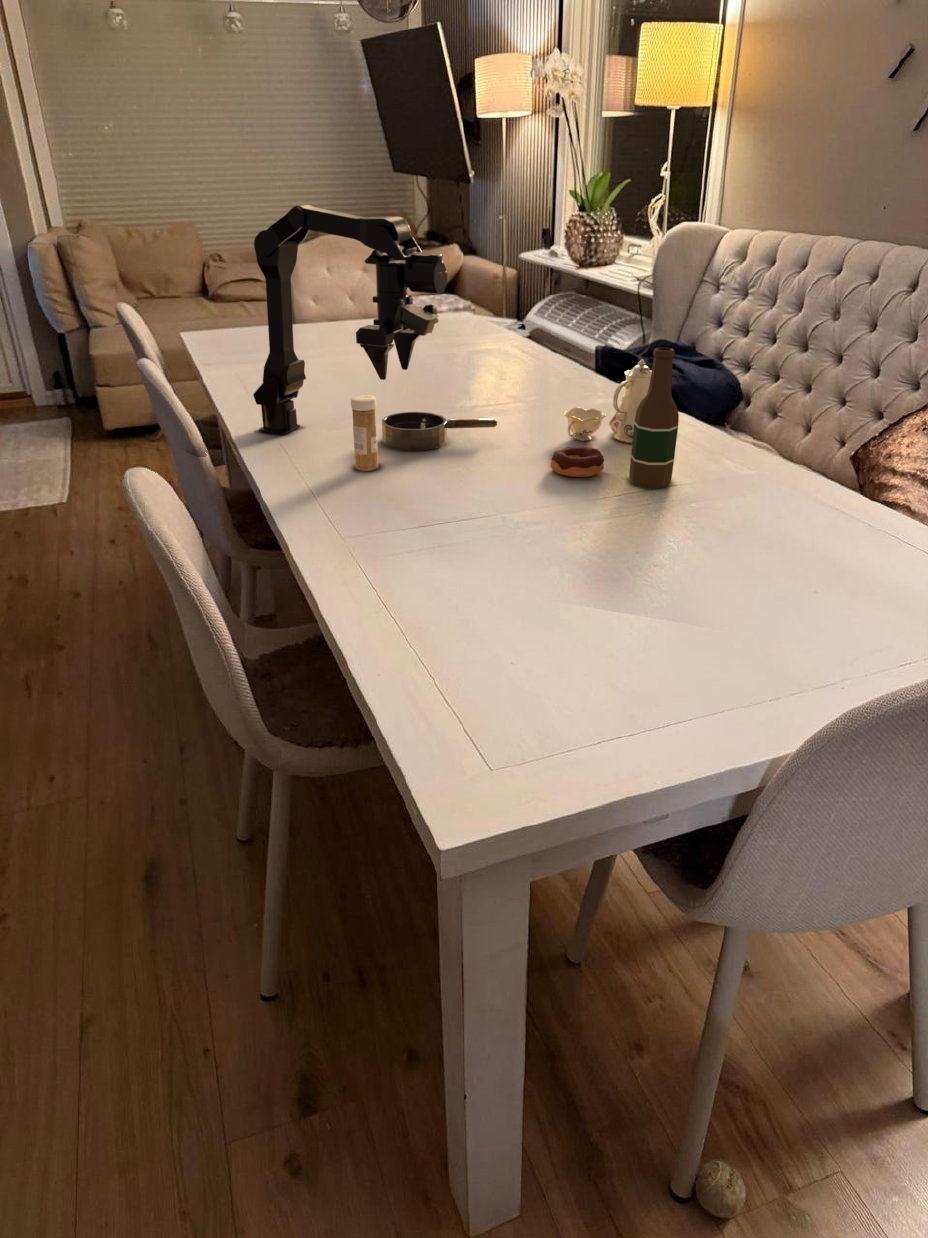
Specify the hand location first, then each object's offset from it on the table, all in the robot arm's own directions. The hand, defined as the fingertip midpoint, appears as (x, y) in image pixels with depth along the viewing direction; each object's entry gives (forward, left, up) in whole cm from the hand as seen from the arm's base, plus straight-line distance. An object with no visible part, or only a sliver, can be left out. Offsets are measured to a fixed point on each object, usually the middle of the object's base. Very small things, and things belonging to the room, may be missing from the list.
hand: (394, 374), depth 175 cm
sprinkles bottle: (+1, -14, -15) cm, 20 cm away
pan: (+2, +4, -15) cm, 15 cm away
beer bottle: (+52, +1, -15) cm, 54 cm away
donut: (+38, +1, -15) cm, 41 cm away
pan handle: (+12, +10, -12) cm, 20 cm away
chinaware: (+40, +28, -15) cm, 51 cm away
